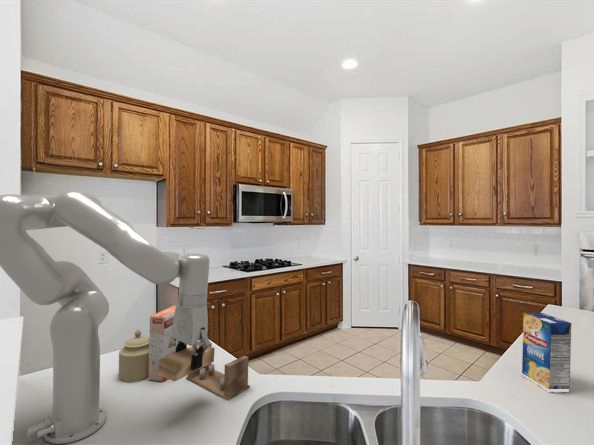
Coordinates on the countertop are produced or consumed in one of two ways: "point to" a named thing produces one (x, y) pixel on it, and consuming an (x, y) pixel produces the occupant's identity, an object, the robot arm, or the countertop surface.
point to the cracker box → (160, 341)
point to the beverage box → (546, 350)
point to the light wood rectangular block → (182, 363)
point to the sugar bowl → (134, 359)
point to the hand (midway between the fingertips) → (188, 363)
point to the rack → (223, 378)
